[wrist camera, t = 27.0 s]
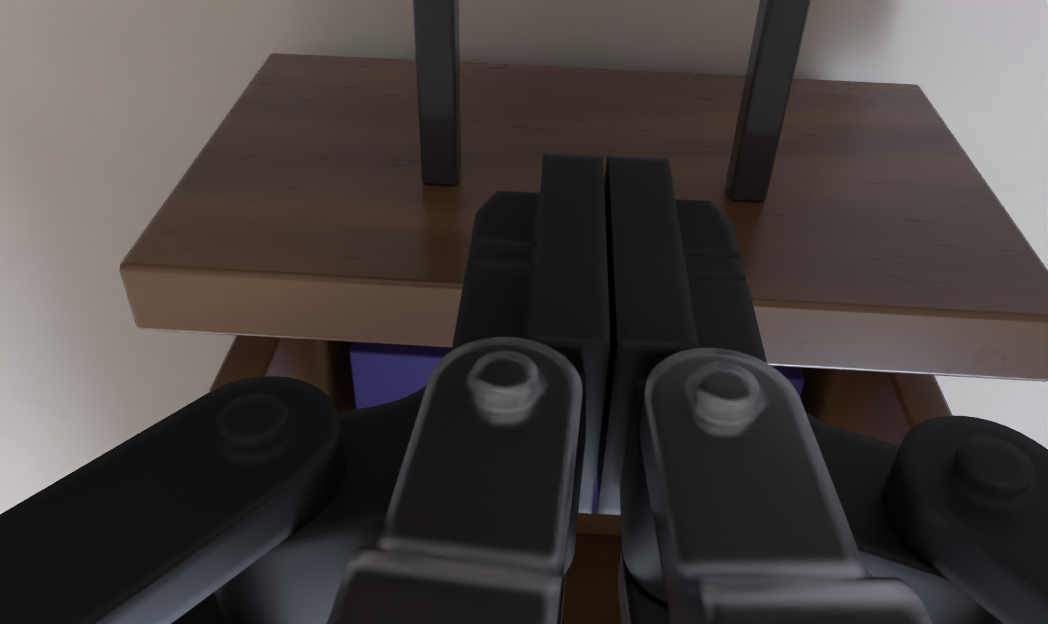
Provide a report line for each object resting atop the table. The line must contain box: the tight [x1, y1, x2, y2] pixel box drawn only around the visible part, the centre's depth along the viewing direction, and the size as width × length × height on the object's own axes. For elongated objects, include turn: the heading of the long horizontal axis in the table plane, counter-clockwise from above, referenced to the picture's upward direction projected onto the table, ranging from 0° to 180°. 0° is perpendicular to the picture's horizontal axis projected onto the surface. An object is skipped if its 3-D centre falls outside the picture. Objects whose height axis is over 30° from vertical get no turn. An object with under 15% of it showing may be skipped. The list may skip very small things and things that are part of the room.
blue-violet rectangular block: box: [349, 342, 805, 512], centre depth 20 cm, size 4×9×4 cm, turn 88°
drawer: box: [120, 0, 1048, 624], centre depth 18 cm, size 20×14×8 cm, turn 178°
